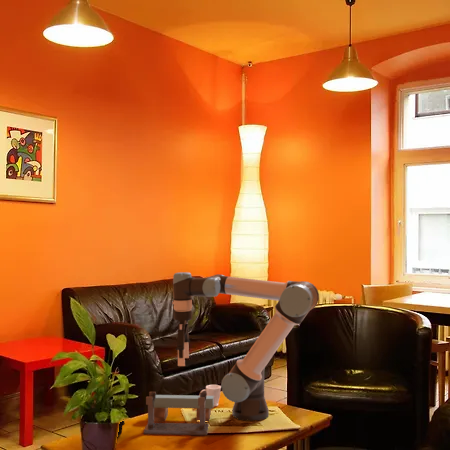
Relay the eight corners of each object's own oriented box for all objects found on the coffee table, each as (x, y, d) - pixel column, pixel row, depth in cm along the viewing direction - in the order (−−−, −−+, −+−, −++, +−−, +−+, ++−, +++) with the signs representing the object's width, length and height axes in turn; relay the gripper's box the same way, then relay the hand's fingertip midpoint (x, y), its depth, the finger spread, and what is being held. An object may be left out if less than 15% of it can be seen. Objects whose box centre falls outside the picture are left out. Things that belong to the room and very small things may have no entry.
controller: (117, 430, 225) (117, 404, 225) (125, 441, 214) (125, 414, 214) (106, 432, 223) (106, 406, 223) (114, 443, 212) (114, 415, 212)
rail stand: (208, 427, 227) (208, 392, 227) (206, 435, 219) (206, 398, 219) (148, 426, 229) (147, 391, 229) (143, 434, 221) (143, 397, 221)
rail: (213, 405, 239) (213, 395, 239) (212, 408, 235) (212, 398, 235) (151, 404, 241) (151, 394, 241) (149, 407, 237) (149, 397, 237)
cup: (223, 406, 254) (223, 388, 254) (201, 408, 250) (201, 390, 250) (218, 401, 260) (218, 383, 260) (197, 404, 257) (197, 385, 257)
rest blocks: (210, 415, 241) (210, 403, 241) (208, 422, 233) (208, 410, 233) (156, 414, 243) (156, 402, 243) (152, 421, 235) (152, 409, 235)
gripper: (177, 305, 251) (178, 354, 251) (169, 314, 226) (170, 369, 226) (194, 305, 251) (195, 354, 251) (188, 314, 226) (189, 369, 226)
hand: (183, 361), depth 238 cm, fingers open, 13 cm apart
